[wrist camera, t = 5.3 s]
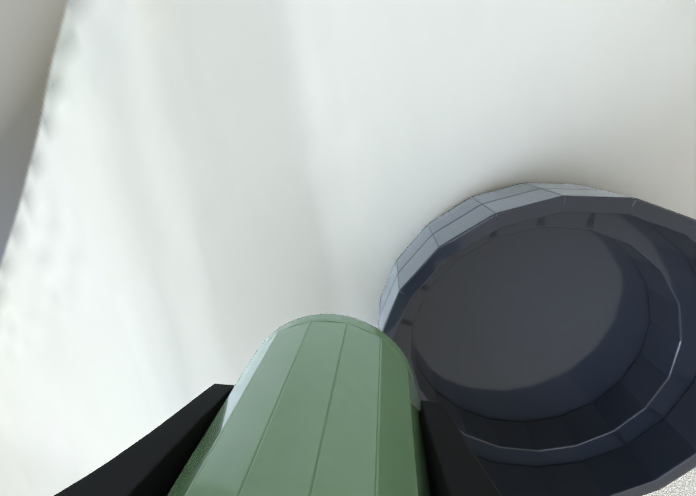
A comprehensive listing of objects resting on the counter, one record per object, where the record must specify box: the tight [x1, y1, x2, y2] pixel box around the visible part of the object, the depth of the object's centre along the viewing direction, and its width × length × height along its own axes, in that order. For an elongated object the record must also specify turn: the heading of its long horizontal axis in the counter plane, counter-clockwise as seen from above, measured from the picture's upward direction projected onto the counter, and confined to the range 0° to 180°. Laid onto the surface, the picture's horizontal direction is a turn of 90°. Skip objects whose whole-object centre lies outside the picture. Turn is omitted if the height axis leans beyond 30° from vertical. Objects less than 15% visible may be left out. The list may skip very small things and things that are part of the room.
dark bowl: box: [379, 183, 696, 496], centre depth 17 cm, size 15×15×4 cm
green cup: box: [167, 314, 431, 496], centre depth 9 cm, size 5×5×6 cm
